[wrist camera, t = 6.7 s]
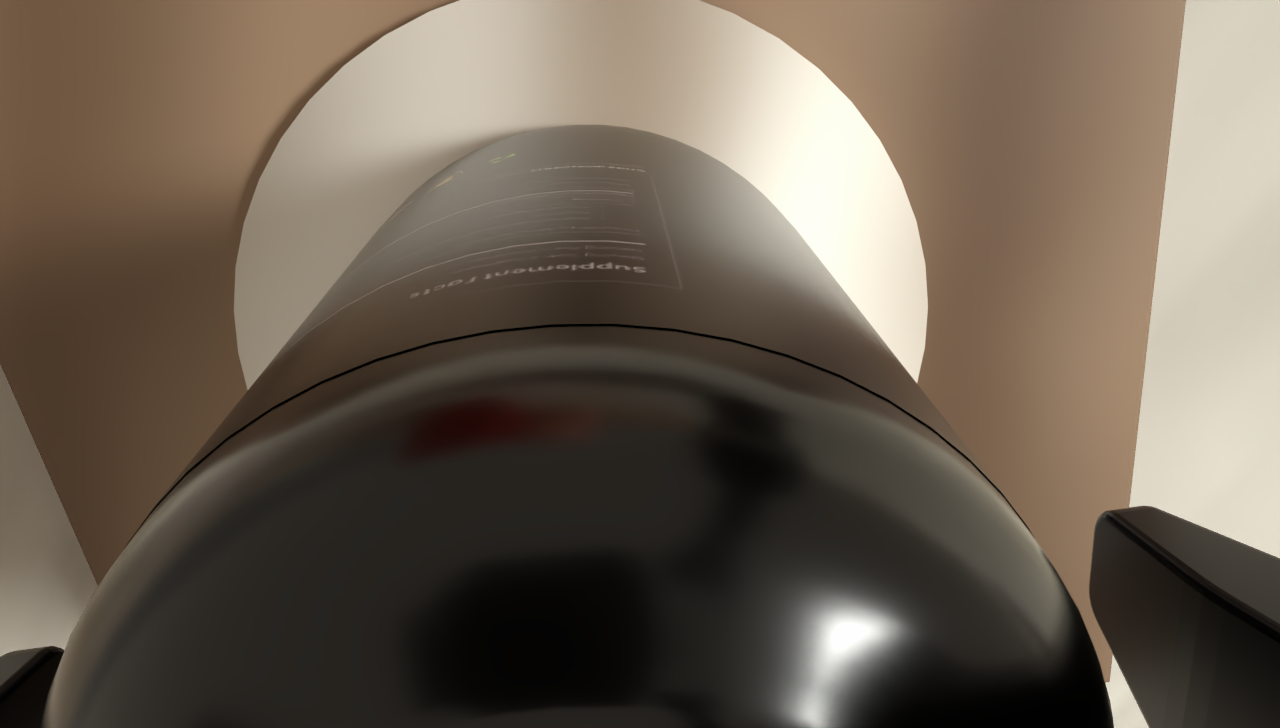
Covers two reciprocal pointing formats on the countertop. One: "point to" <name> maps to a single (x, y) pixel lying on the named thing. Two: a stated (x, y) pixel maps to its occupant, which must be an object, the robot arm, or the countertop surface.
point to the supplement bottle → (583, 491)
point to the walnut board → (584, 95)
